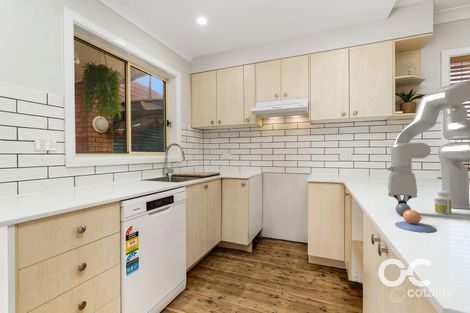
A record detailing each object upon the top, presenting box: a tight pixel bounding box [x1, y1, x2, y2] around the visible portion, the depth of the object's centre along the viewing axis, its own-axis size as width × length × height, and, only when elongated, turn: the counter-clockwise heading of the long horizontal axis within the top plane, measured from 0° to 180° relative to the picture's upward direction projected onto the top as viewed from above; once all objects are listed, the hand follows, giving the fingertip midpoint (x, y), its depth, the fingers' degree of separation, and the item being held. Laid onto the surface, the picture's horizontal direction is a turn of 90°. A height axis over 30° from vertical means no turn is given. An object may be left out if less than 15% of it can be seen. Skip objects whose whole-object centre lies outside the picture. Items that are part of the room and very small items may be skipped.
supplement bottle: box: [434, 190, 452, 215], centre depth 97 cm, size 5×5×10 cm
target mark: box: [394, 220, 437, 234], centre depth 82 cm, size 12×12×1 cm
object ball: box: [402, 209, 422, 224], centre depth 85 cm, size 6×6×6 cm
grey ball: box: [395, 203, 412, 217], centre depth 95 cm, size 6×6×6 cm
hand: (402, 209), depth 100 cm, fingers closed
